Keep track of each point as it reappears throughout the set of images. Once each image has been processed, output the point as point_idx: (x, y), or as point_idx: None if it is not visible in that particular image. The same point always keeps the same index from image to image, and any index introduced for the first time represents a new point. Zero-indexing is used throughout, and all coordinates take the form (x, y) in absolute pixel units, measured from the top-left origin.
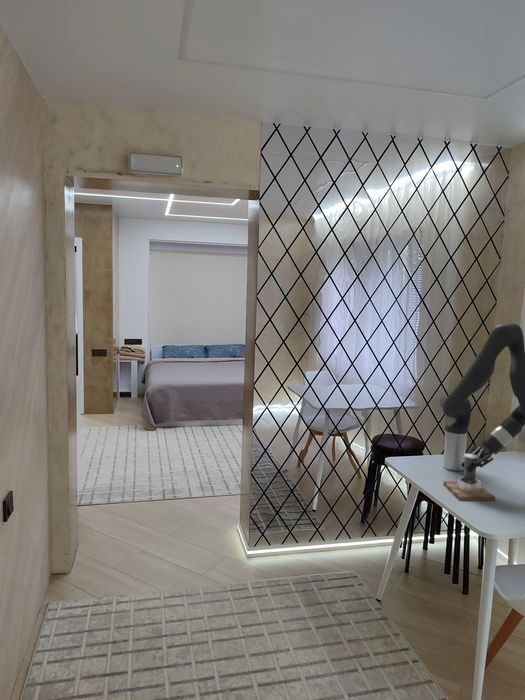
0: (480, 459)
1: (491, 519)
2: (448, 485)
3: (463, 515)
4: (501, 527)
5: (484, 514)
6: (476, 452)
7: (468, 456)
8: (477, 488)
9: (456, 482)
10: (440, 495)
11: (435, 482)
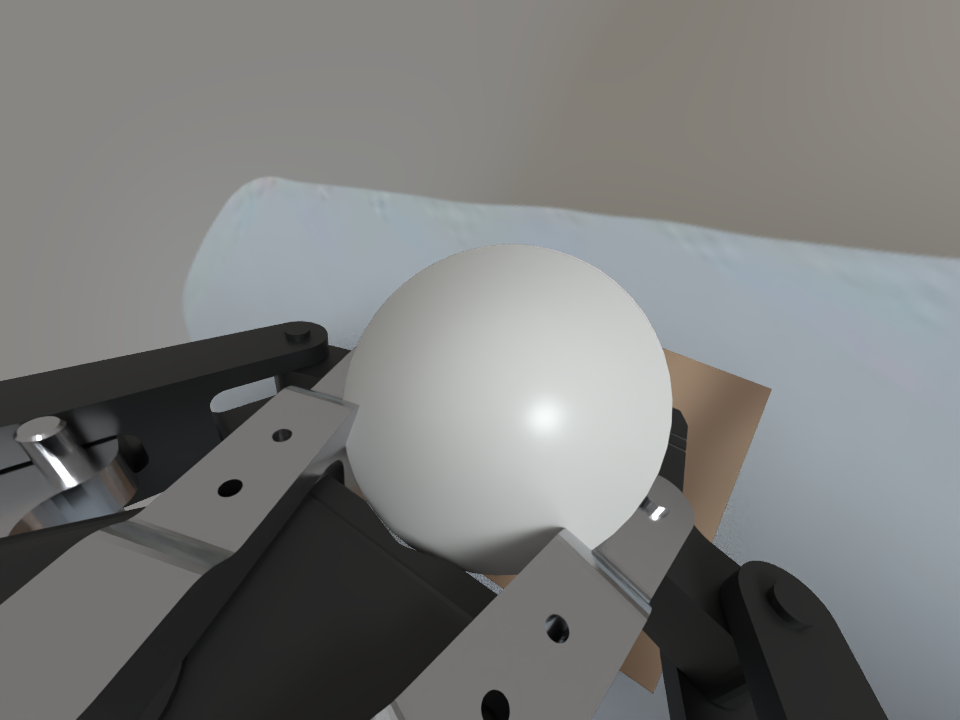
0: (230, 361)
1: (280, 278)
2: (664, 352)
3: (363, 197)
4: (228, 260)
5: (320, 288)
6: (461, 663)
7: (469, 281)
8: None
9: (705, 474)
10: (589, 246)
11: (838, 381)
